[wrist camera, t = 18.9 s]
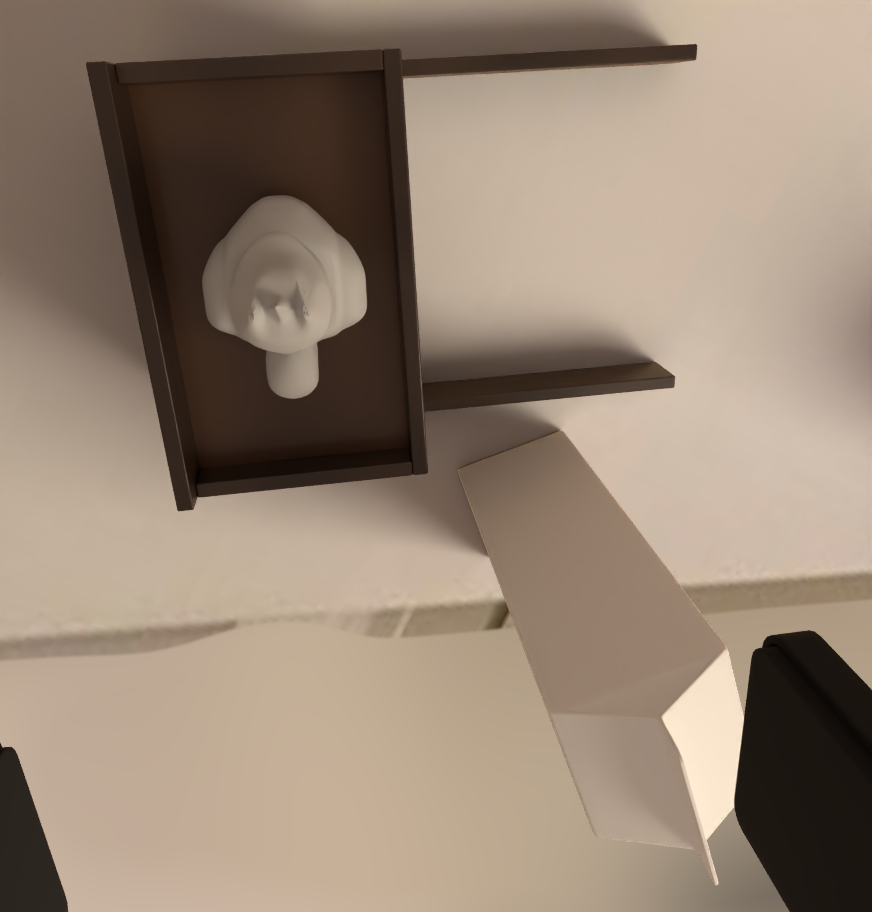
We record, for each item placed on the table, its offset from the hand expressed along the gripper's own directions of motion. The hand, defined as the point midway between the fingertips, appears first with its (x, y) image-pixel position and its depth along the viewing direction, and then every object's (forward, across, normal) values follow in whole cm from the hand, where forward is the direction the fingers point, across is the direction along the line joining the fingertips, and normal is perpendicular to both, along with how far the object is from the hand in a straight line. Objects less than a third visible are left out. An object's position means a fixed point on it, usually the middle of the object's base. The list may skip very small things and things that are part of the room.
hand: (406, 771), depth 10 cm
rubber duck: (+22, +2, -2) cm, 23 cm away
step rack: (+30, -4, -2) cm, 31 cm away
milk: (+31, -9, +12) cm, 34 cm away
